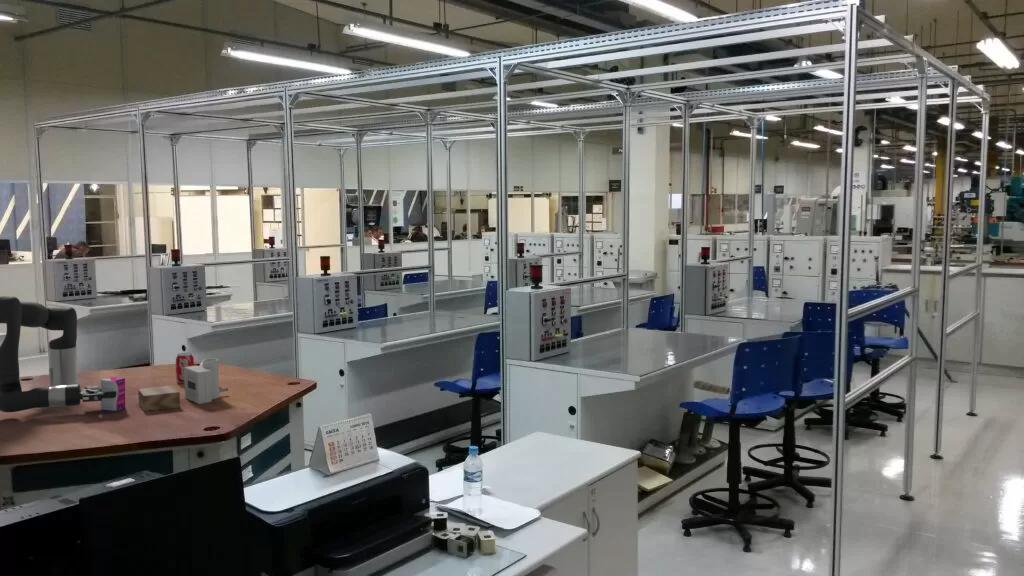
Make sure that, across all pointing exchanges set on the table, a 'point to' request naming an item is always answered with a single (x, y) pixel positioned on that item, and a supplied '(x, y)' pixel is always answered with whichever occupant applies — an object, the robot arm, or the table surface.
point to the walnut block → (159, 398)
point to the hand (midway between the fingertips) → (116, 391)
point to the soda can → (183, 365)
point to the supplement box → (119, 388)
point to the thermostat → (202, 382)
